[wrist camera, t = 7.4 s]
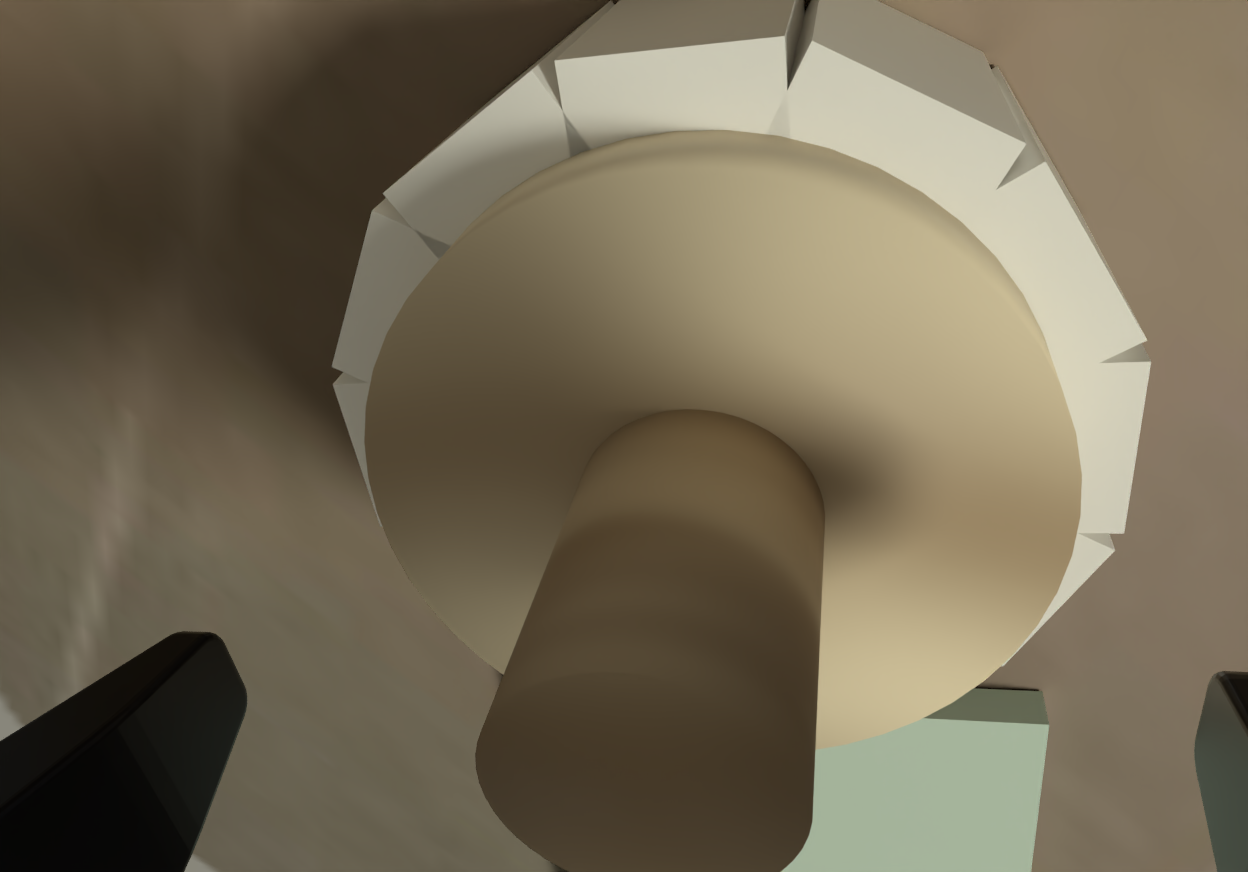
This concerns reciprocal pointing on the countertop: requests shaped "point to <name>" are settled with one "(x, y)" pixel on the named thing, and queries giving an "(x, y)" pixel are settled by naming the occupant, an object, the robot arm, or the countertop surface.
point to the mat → (934, 792)
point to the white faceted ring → (809, 112)
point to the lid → (716, 484)
